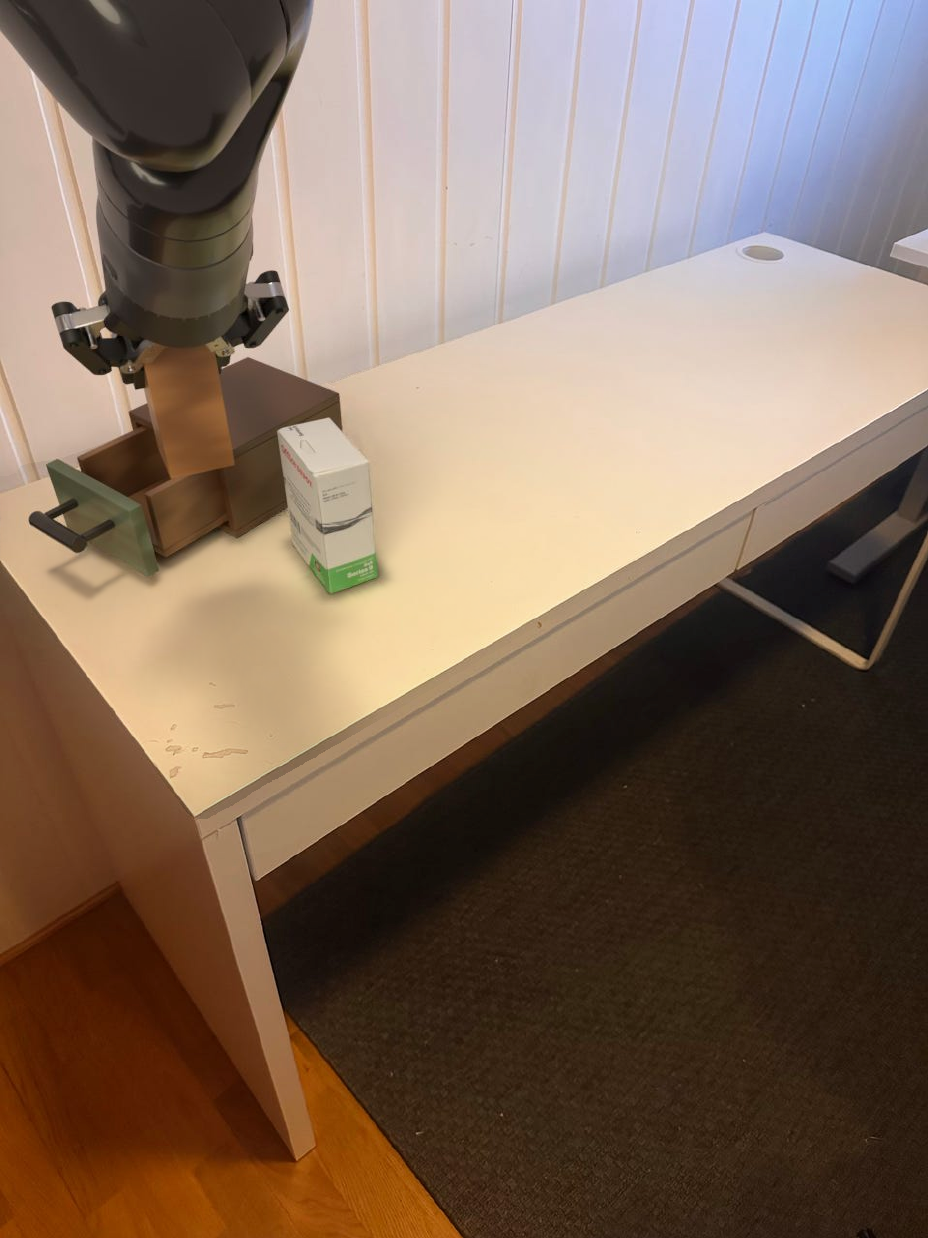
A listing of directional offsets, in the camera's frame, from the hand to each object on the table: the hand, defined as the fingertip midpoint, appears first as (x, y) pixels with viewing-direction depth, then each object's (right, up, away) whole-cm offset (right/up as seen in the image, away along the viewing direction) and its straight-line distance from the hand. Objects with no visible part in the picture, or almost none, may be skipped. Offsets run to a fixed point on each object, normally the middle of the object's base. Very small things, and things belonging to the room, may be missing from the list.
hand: (173, 368), depth 63 cm
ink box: (+9, -13, +17) cm, 23 cm away
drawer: (-8, -9, +18) cm, 22 cm away
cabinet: (-1, -4, +26) cm, 26 cm away
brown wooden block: (+1, -6, +3) cm, 6 cm away
